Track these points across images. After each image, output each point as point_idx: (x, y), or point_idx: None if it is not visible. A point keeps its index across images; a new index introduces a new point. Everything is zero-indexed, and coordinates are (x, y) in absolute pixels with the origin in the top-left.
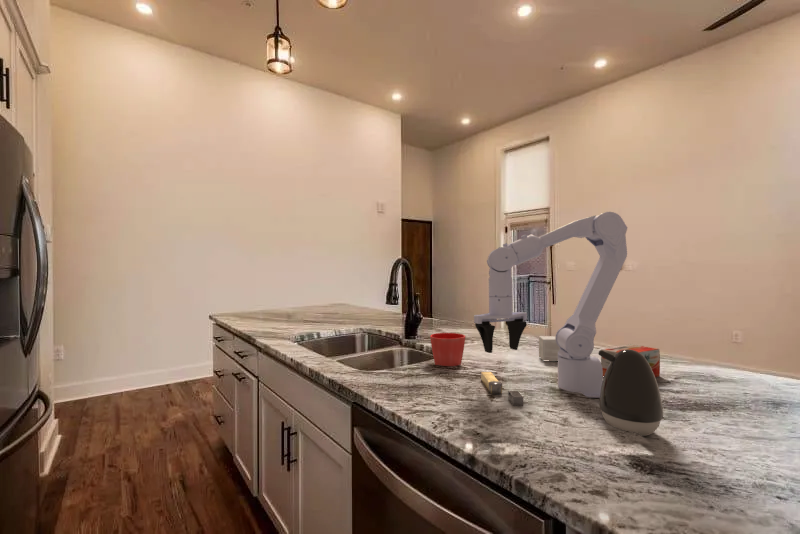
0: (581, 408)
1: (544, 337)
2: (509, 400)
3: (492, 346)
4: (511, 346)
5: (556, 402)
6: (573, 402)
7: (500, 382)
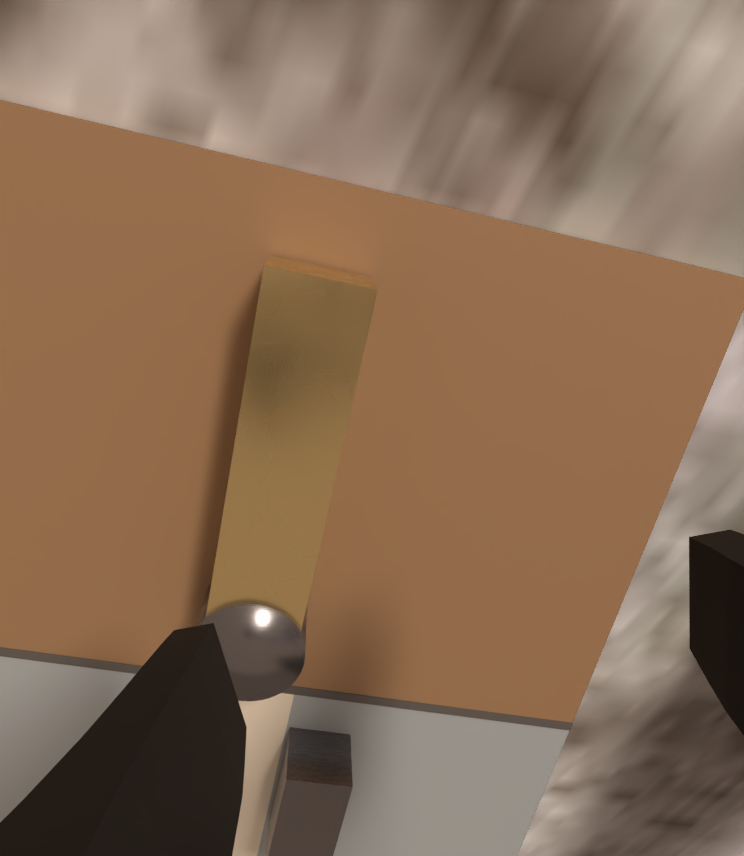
0: (685, 782)
1: None
2: (285, 749)
3: (233, 838)
4: (712, 593)
5: (621, 695)
6: (720, 708)
7: (300, 647)
